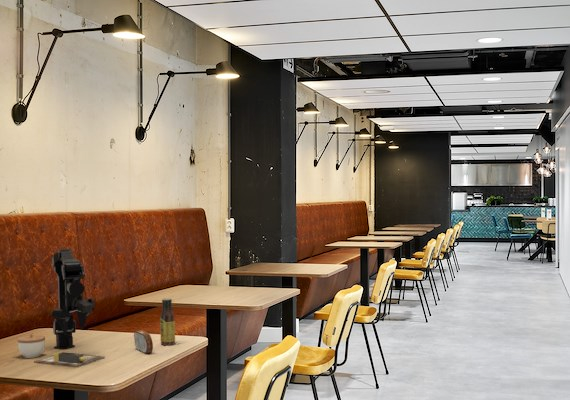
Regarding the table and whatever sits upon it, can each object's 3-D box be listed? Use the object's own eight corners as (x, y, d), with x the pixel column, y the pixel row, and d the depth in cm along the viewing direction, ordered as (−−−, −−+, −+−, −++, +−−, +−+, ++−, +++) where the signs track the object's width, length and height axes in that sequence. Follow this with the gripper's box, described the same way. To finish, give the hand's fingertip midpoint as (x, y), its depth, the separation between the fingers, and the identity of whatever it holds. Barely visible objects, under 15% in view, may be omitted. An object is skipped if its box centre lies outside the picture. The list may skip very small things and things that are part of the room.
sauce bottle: (161, 343, 325) (160, 297, 325) (175, 342, 326) (174, 297, 325) (160, 346, 318) (158, 300, 318) (174, 345, 319) (173, 299, 319)
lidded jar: (51, 354, 309) (50, 331, 309) (34, 360, 299) (33, 336, 299) (29, 352, 312) (28, 330, 312) (12, 358, 302) (11, 335, 302)
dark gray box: (53, 361, 293) (53, 353, 293) (59, 359, 296) (59, 351, 296) (81, 363, 287) (81, 355, 287) (87, 362, 290) (86, 354, 290)
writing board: (34, 362, 294) (34, 360, 294) (62, 353, 309) (62, 352, 309) (77, 367, 285) (77, 365, 285) (104, 357, 299) (104, 356, 299)
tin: (153, 354, 304) (153, 333, 304) (146, 355, 302) (145, 334, 302) (140, 348, 317) (139, 328, 316) (133, 349, 315) (132, 329, 315)
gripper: (71, 297, 284) (72, 338, 284) (104, 290, 300) (105, 328, 301) (49, 296, 289) (50, 335, 289) (82, 288, 305) (84, 326, 306)
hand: (73, 331), depth 296 cm, fingers open, 9 cm apart
